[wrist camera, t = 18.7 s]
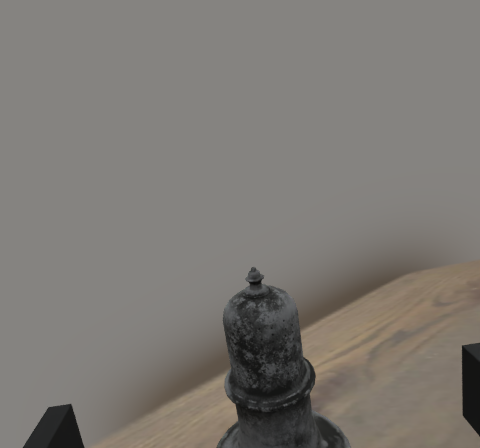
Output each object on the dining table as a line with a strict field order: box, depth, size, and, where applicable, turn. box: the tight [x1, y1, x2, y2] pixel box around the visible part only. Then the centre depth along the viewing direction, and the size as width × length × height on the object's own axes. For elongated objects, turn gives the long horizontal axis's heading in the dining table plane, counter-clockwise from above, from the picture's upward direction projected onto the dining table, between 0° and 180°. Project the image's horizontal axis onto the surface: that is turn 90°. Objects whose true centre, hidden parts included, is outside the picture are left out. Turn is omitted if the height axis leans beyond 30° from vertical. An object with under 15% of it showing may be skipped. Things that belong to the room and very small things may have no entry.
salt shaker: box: [217, 267, 351, 448], centre depth 16 cm, size 6×6×12 cm
